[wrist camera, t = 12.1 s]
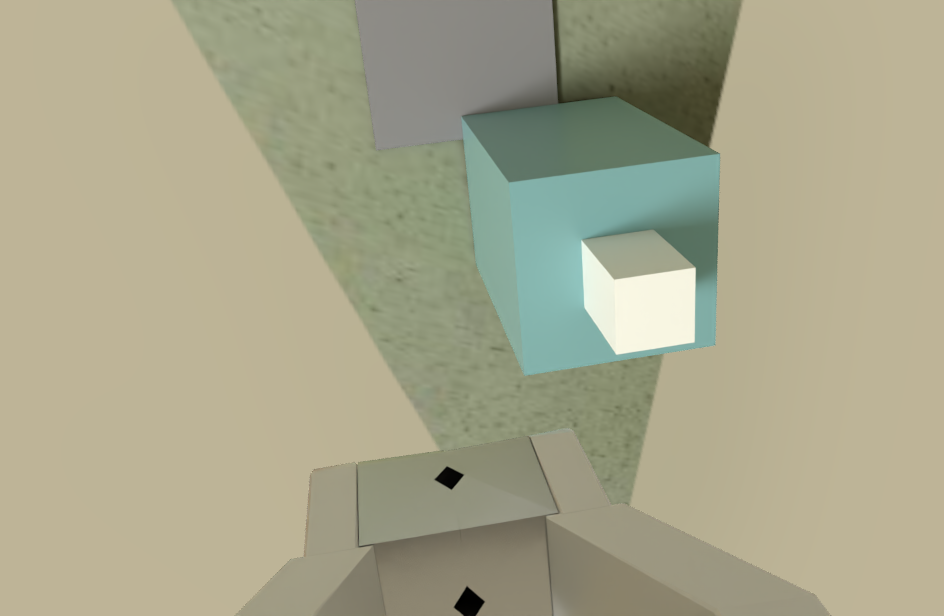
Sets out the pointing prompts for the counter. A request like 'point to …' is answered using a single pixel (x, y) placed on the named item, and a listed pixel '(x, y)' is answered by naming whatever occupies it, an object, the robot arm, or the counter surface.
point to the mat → (452, 63)
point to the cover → (593, 231)
